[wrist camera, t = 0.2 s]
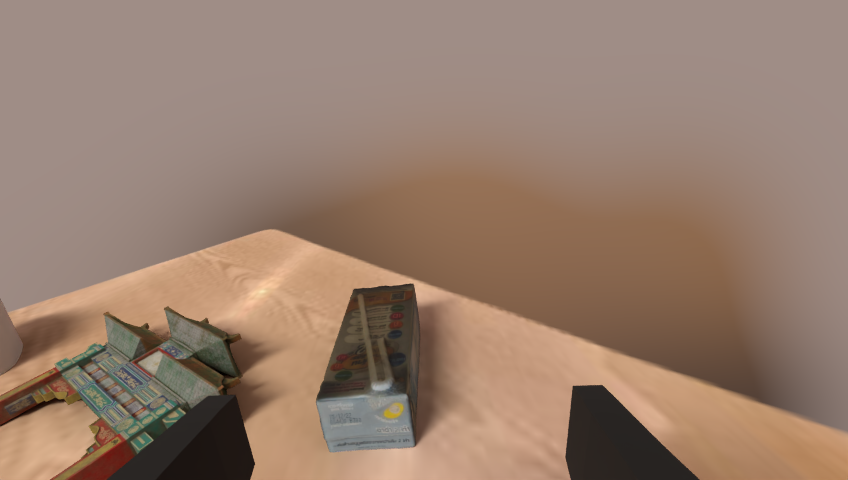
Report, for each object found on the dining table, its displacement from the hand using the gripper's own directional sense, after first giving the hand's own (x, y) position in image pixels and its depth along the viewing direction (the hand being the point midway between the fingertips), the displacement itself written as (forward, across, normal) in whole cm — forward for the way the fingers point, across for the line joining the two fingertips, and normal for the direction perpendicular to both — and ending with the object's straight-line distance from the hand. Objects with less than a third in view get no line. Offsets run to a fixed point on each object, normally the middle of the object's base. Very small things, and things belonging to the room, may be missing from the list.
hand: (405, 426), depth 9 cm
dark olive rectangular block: (+28, +6, +23) cm, 37 cm away
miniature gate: (+23, +34, +24) cm, 48 cm away
